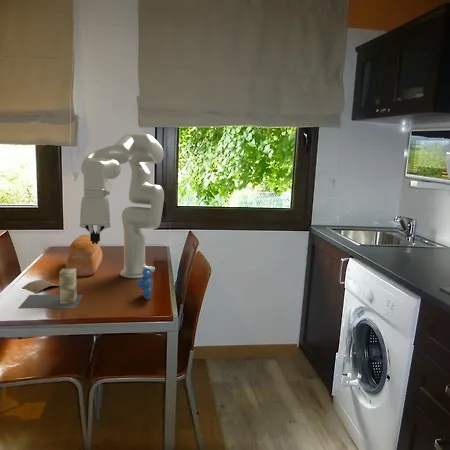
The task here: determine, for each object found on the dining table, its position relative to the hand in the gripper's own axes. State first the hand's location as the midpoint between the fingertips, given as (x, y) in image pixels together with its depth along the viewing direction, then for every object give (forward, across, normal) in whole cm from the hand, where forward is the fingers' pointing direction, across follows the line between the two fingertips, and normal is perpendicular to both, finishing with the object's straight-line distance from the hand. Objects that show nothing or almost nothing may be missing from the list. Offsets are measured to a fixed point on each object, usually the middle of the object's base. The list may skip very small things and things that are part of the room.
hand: (95, 243), depth 163 cm
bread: (+24, +12, -44) cm, 51 cm away
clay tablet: (+24, +24, -16) cm, 37 cm away
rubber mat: (+23, +16, 0) cm, 28 cm away
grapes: (+23, -18, -5) cm, 30 cm away
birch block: (+23, +10, 0) cm, 25 cm away
